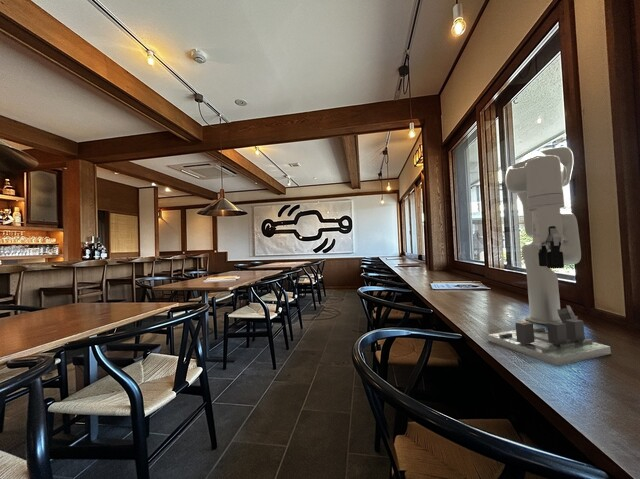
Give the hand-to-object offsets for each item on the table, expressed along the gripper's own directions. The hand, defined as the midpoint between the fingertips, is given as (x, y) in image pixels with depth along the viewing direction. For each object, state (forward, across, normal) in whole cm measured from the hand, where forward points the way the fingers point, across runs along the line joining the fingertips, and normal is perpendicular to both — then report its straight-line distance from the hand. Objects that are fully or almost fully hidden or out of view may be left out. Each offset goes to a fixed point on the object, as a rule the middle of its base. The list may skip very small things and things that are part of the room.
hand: (550, 267), depth 73 cm
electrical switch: (+24, -28, +9) cm, 39 cm away
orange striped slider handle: (+22, -8, -6) cm, 24 cm away
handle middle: (+22, -10, +2) cm, 24 cm away
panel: (+25, -13, -1) cm, 28 cm away
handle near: (+22, -15, +7) cm, 28 cm away
